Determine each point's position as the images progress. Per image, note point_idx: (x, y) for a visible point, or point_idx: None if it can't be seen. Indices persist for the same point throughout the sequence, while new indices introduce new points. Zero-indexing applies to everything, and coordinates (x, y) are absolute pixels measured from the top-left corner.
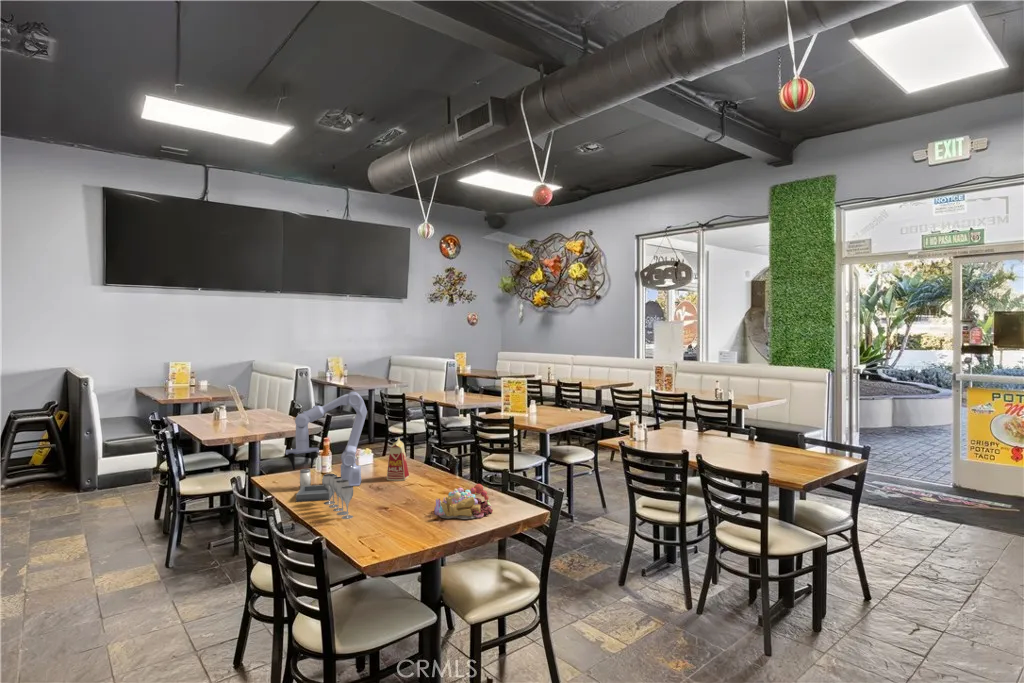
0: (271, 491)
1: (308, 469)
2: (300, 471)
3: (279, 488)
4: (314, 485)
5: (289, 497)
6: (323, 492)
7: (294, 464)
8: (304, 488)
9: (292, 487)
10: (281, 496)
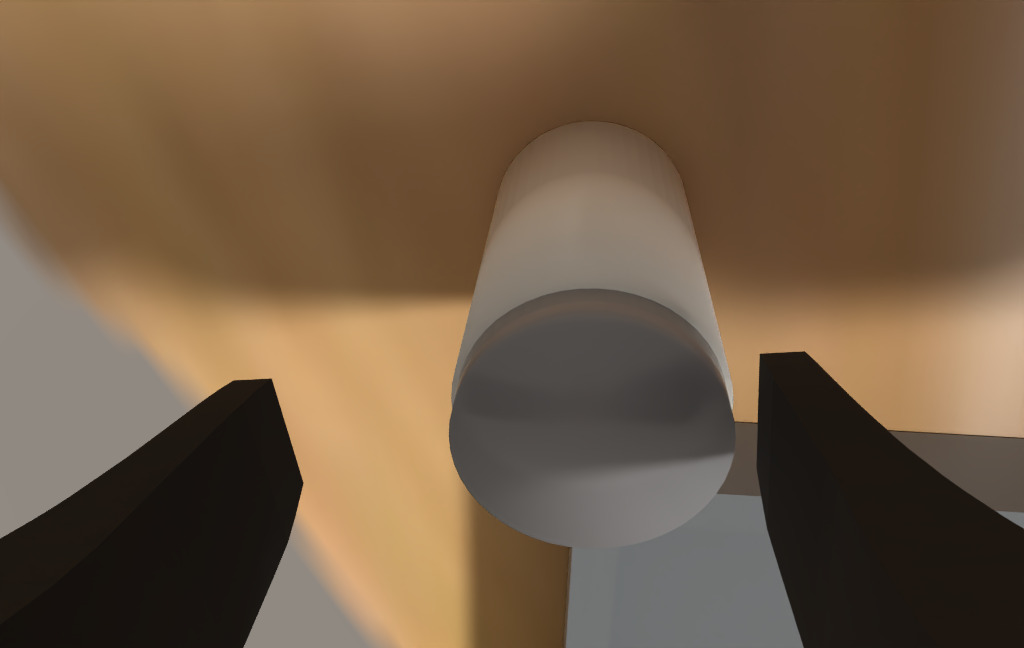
0: (26, 232)
1: (685, 442)
2: (475, 479)
3: (73, 61)
4: None
5: (433, 572)
6: None
7: (225, 533)
8: None
9: (309, 44)
10: (307, 511)
